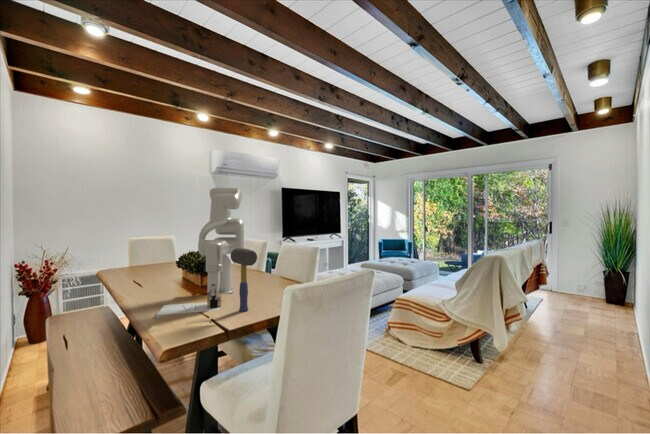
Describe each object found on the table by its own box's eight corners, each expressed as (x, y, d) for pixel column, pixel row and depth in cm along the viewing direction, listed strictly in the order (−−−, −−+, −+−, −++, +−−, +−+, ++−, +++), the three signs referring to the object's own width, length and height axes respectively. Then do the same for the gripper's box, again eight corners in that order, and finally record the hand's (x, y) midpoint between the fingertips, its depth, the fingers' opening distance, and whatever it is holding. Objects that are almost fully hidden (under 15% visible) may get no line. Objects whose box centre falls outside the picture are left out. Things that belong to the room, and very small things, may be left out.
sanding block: (208, 304, 146) (208, 294, 146) (221, 303, 148) (221, 293, 148) (207, 307, 141) (207, 297, 141) (220, 306, 143) (220, 296, 143)
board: (164, 308, 145) (164, 305, 145) (221, 304, 152) (221, 301, 152) (156, 318, 132) (156, 315, 132) (218, 313, 138) (218, 310, 138)
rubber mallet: (258, 314, 137) (258, 249, 136) (244, 319, 131) (244, 250, 131) (243, 308, 145) (243, 246, 144) (229, 312, 140) (229, 248, 139)
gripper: (207, 265, 151) (207, 301, 152) (203, 271, 135) (203, 312, 135) (223, 264, 153) (223, 299, 154) (221, 271, 137) (221, 310, 137)
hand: (214, 305), depth 144 cm, fingers closed on sanding block, 5 cm apart
